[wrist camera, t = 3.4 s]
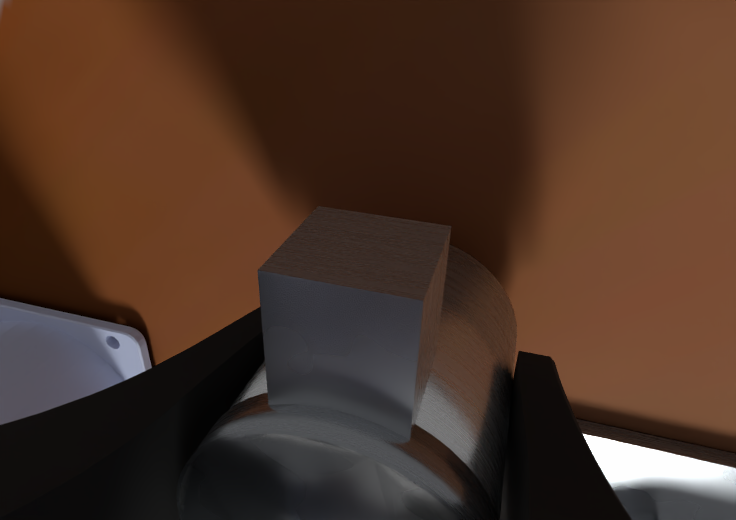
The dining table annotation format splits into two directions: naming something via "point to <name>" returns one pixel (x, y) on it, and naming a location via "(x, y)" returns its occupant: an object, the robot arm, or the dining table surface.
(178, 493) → the cylinder with square knob
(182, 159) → the dining table surface
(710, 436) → the dining table surface
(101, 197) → the dining table surface
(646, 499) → the duct flange
